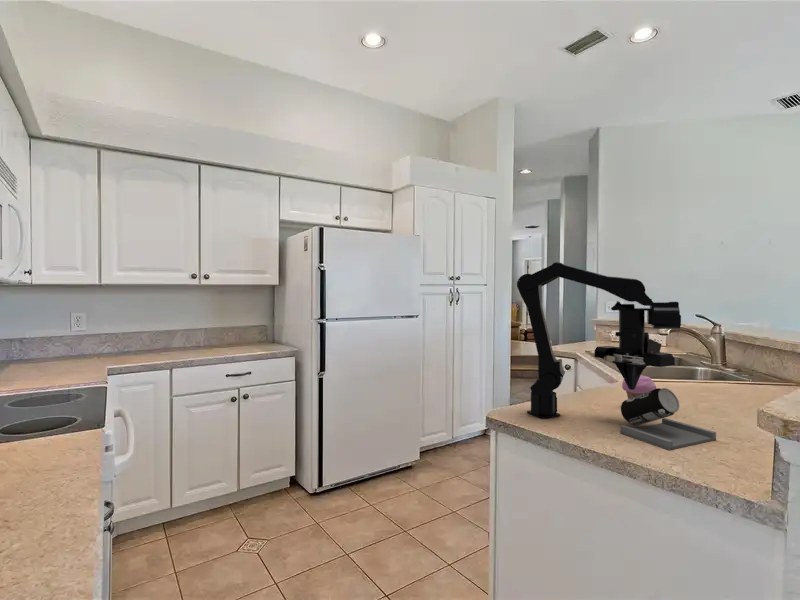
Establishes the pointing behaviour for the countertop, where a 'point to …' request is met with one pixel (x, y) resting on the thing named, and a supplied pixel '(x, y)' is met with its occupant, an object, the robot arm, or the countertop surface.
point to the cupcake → (639, 387)
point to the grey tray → (670, 434)
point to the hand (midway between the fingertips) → (631, 389)
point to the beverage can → (650, 406)
